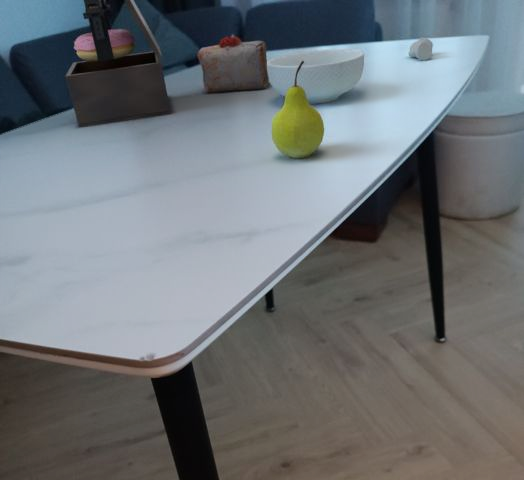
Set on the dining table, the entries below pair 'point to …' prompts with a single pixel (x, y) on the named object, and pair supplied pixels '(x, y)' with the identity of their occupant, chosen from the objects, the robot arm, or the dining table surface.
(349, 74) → the cereal bowl
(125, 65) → the chest
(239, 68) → the food item
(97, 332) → the dining table surface
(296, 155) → the fruit
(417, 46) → the pale two-lobed sculpture
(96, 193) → the dining table surface
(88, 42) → the doughnut
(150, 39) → the lid
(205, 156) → the dining table surface
